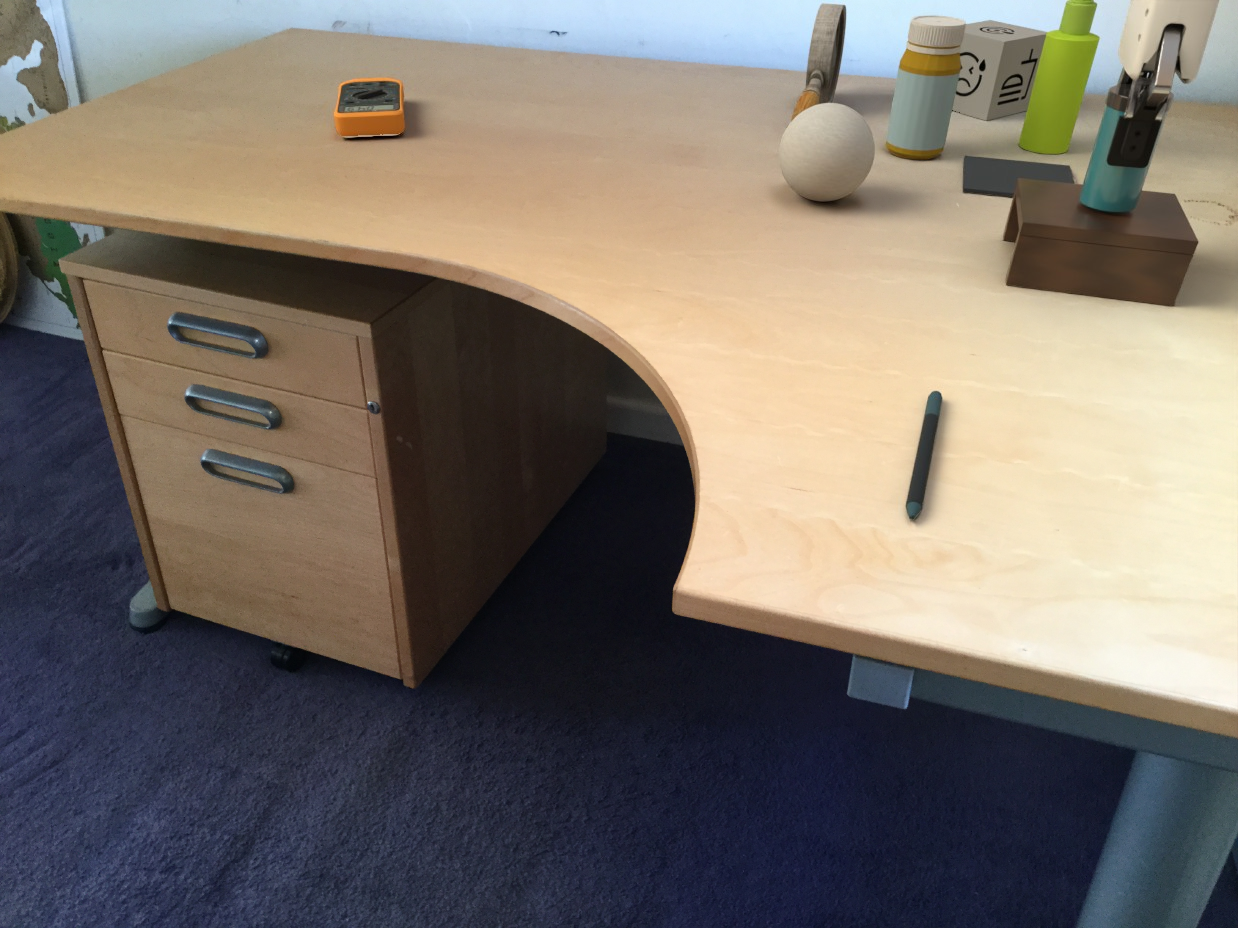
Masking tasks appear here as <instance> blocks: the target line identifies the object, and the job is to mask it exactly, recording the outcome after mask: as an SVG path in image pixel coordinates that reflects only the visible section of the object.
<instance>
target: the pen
mask: <svg viewBox="0 0 1238 928" xmlns="http://www.w3.org/2000/svg"><path fill="white" fill-rule="evenodd" d="M942 404H943V395H942V393H941V391H939V390H932V391H931V392H930V393H929V394H928V396H927V402H926V407H925V411H924V416H923V419H922V420H923V421H922V425H921V430H920V434H919V439H918V445H917V450H916V453H915V458H914V459H915V460H914V463H913V464H914V465H913V468H912V474H911V478H910V483H909V488H908V492H907V497H906V502H905V509H906V512H907V516H908V519H909V521H910V522H914V520H916V518H917V517H918V516H919V514H920V513H921V512H922V510H923V508H924V502H925V496H926V491H927V485H928V480H929V475H930V469H931V463H932V459H933V452H934V447H935V442H936V437H937V431H938V426H939V420H940V415H941V409H942Z"/></svg>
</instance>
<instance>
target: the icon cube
mask: <svg viewBox="0 0 1238 928" xmlns="http://www.w3.org/2000/svg"><path fill="white" fill-rule="evenodd" d="M1047 32H1048V31H1044V30H1041V29H1040V30H1039V29H1035V28H1031V27H1026V26H1021V25H1016V24H1011V23H1007V22H1002V21H997V20H993V19H988V20H987V19H986V20H982V21H976V22H971V23H966V28H965V32H964V37H963V41H962V43H961V50H960V52H959V53H960V61H961V69H960V75H959V80H958V85H957V89H956V94H955V99H954V104H953V108H952V110H953V111H952V112H955V111H956V113H959V112H960V113H959V114H963V115H966V116H969V117H972V118H975V119H979V120H983V121H986V122H987V121H991V120H995V119H999V118H1004V117H1006V116H1007V117H1008V116H1011V115H1015V114H1019V113H1023V112H1027V109H1028V105H1029V101H1030V97H1031V93H1032V89H1033V85H1034V81H1035V77H1036V73H1037V69H1038V65H1039V61H1040V57H1041V53H1042V49H1043V45H1044V42H1045V38H1046V34H1047Z"/></svg>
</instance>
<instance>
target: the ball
mask: <svg viewBox="0 0 1238 928" xmlns="http://www.w3.org/2000/svg"><path fill="white" fill-rule="evenodd" d="M790 122H791V123H789V124H788V125H787V127H786V128H785V130H784V132H783V134H782V136H781V140H780V144H779V146H778V147H779V148H778V163H779V167H780V171H781V174H782V177H783V178H784V180H785V182H786V183H787V185H788V186H789V187H790V188H791V189H792V190H793V191H794V192H795V193H797V194H798V195H799V196H801V197H803V198H804V199H807V200H811V201H813V202H814V201H815V202H833V201H836V200H840V199H842V198H844V197H847V196H849V195H850V194H852V193H853V192H854V191H856V190H857V189H858V188H859V187H860V186H861V185H862V184H863V182H865V180H866V178H867V177H868V176H869V173H870V172H871V169H872V166H873V163H874V159H875V154H876V153H875V151H876V149H875V147H876V146H875V145H876V144H875V138H874V135H873V132H872V129H871V127H870V126H869V123H868V122H867V120H866V119H865V118H864V117H863V115H861V114H860V113H859V112H858V111H856V110H855V109H854V108H852V107H850V106H848V105H845V104H842V103H837V102H832V103H823V104H818V105H815V106H812V107H810V108H808V109H806V110H804V111H802V112H801V113H800V114H799V115H797V116H796V117H795V118H794V119H793V120H792V121H791V120H790Z"/></svg>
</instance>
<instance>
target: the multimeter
mask: <svg viewBox="0 0 1238 928" xmlns="http://www.w3.org/2000/svg"><path fill="white" fill-rule="evenodd" d="M404 102H405V89H404V83H403V82H402V81H401V80H399V79H396V78H390V77H367V78H365V77H364V78H354V79H349V80H346V81H343V82H341V83H340V84H339V85H338V95H337V101H336V106H335V108H334V109H335V110H334V112H333V119H334V125H335V129H336V132H337V134H338V135H339V136H340V135H341V136H358V135H380V134H382V135H383V134H399V133H402V132H403V133H404V132H405V130H406V123H405V112H404V104H405V103H404ZM403 133H402V134H403ZM341 136H340V137H341Z"/></svg>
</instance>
